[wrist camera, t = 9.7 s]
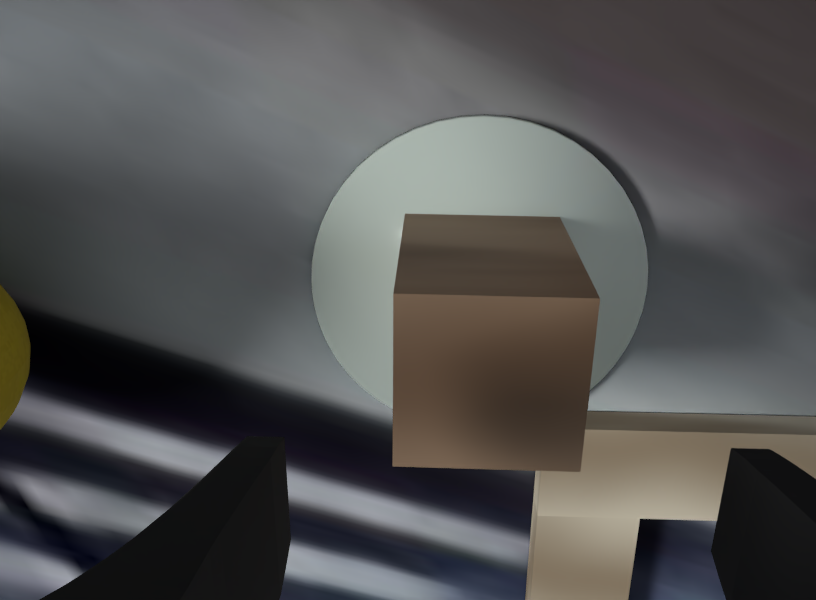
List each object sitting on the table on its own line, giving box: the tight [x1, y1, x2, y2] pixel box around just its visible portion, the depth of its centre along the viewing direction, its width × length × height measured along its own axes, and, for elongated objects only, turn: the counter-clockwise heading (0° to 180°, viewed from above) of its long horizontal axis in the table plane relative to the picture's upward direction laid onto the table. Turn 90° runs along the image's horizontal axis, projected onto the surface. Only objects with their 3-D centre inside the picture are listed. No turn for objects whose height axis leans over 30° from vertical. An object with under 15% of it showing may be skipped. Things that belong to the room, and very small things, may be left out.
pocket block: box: [525, 411, 816, 600], centre depth 24 cm, size 12×12×1 cm
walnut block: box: [393, 214, 600, 472], centre depth 18 cm, size 4×4×6 cm
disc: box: [311, 114, 648, 409], centre depth 21 cm, size 9×9×1 cm
